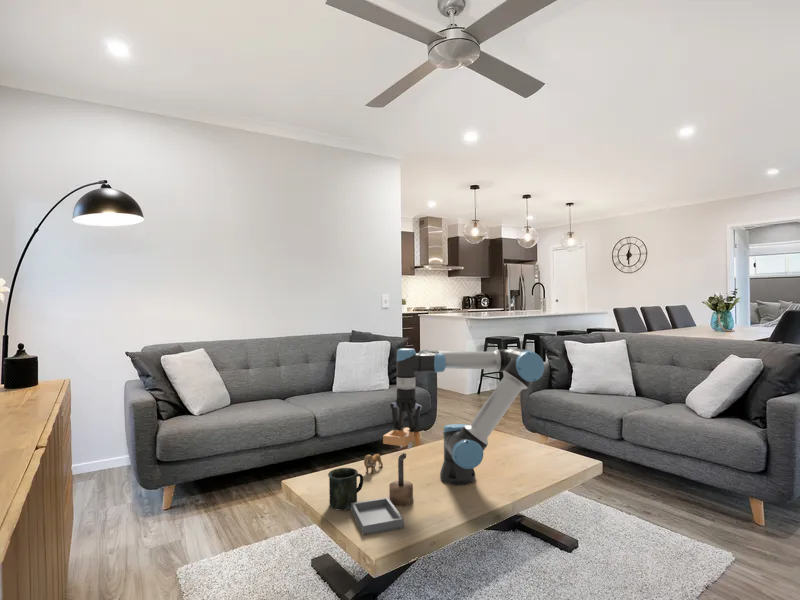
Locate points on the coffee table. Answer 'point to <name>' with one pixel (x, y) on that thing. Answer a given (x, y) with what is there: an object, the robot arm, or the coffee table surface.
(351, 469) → the mug
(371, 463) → the lion figurine
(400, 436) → the orange square frame paddle
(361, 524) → the tray
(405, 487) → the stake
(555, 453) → the coffee table surface
